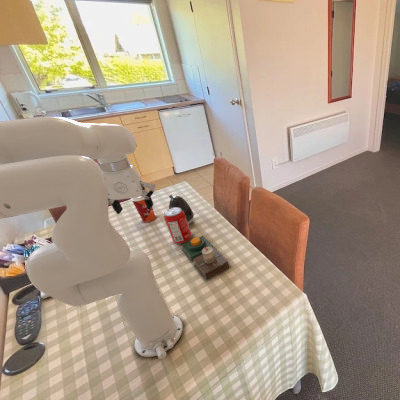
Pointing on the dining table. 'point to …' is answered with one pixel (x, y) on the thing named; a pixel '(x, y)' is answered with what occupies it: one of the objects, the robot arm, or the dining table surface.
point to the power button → (195, 241)
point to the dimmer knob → (208, 255)
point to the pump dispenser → (182, 207)
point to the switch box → (196, 248)
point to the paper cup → (143, 209)
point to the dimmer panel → (211, 265)
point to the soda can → (177, 225)
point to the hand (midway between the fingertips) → (135, 209)
